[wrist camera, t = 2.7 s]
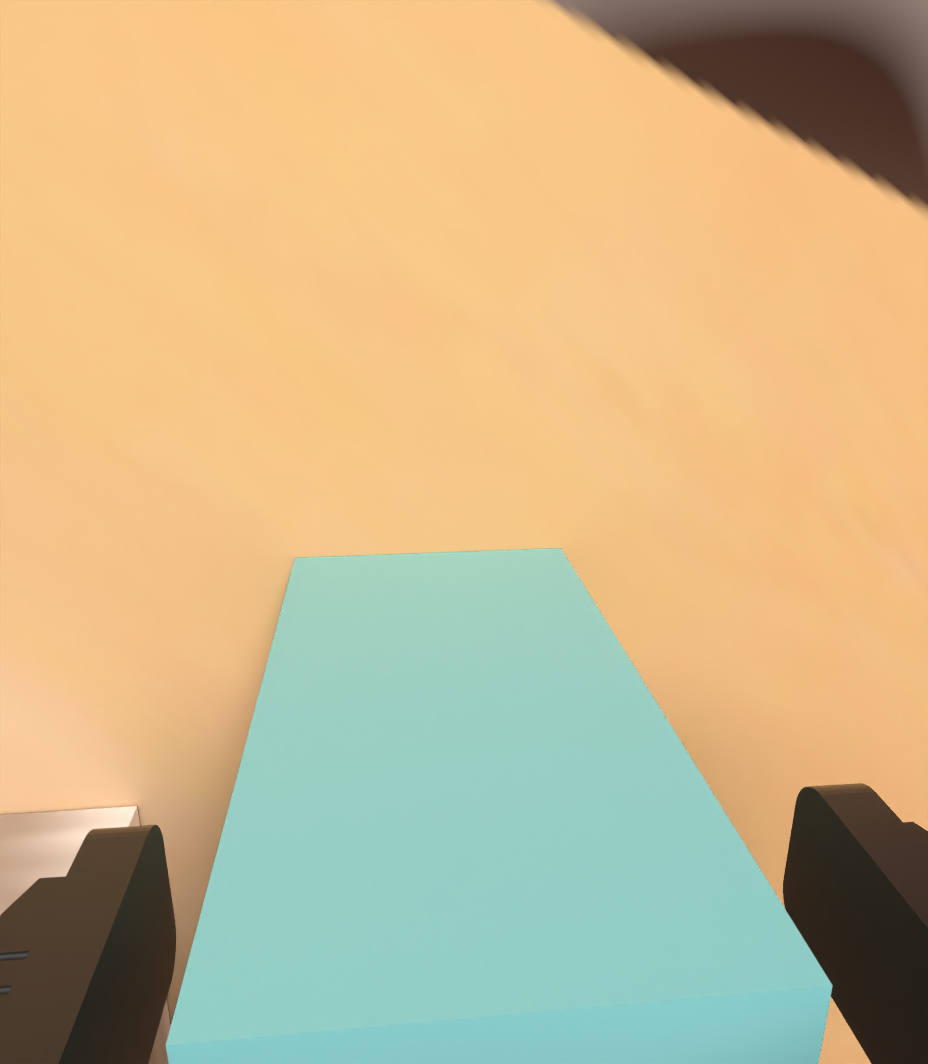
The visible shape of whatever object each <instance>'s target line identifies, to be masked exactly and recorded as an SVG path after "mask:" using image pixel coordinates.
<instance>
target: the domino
mask: <svg viewBox="0 0 928 1064" xmlns="http://www.w3.org/2000/svg"><path fill="white" fill-rule="evenodd" d="M832 986H833V985H832V984H831V982H830V981H829V979H828V977H827V976H826V974H825V972H824V971H823V969H822V968H821V966H820V964H819V963H818V961H817V960H816V958H815V956H814V955H813V953H812V952H811V950H810V948H809V947H808V945H807V944H806V942H805V940H804V939H803V937H802V935H801V934H800V932H799V931H798V929H797V927H796V926H795V924H794V923H793V921H792V919H791V918H790V916H789V915H788V913H787V911H786V910H785V908H784V907H783V905H782V903H781V902H780V900H779V898H778V897H777V895H776V894H775V892H774V890H773V889H772V887H771V886H770V884H769V882H768V881H767V879H766V878H765V876H764V874H763V873H762V871H761V870H760V868H759V866H758V865H757V863H756V861H755V860H754V858H753V857H752V855H751V853H750V852H749V850H748V849H747V847H746V845H745V844H744V842H743V841H742V839H741V837H740V836H739V834H738V833H737V831H736V829H735V828H734V826H733V824H732V823H731V821H730V820H729V818H728V816H727V815H726V813H725V812H724V810H723V808H722V807H721V805H720V804H719V802H718V800H717V799H716V797H715V796H714V794H713V792H712V791H711V789H710V787H709V786H708V784H707V783H706V781H705V779H704V778H703V776H702V775H701V773H700V771H699V770H698V768H697V767H696V765H695V763H694V762H693V760H692V759H691V757H690V755H689V754H688V752H687V750H686V749H685V747H684V746H683V744H682V742H681V741H680V739H679V738H678V736H677V734H676V733H675V731H674V730H673V728H672V726H671V725H670V723H669V722H668V720H667V718H666V717H665V715H664V713H663V712H662V710H661V709H660V707H659V705H658V704H657V702H656V701H655V699H654V697H653V696H652V694H651V693H650V691H649V689H648V688H647V686H646V685H645V683H644V681H643V680H642V678H641V676H640V675H639V673H638V672H637V670H636V668H635V667H634V665H633V664H632V662H631V660H630V659H629V657H628V656H627V654H626V652H625V651H624V649H623V648H622V646H621V644H620V643H619V641H618V639H617V638H616V636H615V635H614V633H613V631H612V630H611V628H610V627H609V625H608V623H607V622H606V620H605V619H604V617H603V615H602V614H601V612H600V611H599V609H598V607H597V606H596V604H595V602H594V601H593V599H592V598H591V596H590V594H589V593H588V591H587V590H586V588H585V586H584V585H583V583H582V582H581V580H580V578H579V577H578V575H577V574H576V572H575V570H574V569H573V567H572V565H571V564H570V562H569V561H568V559H567V557H566V556H565V554H564V553H563V551H562V549H561V548H550V549H522V550H495V551H467V552H440V553H412V554H385V555H357V556H330V557H302V558H295V559H294V563H293V567H292V570H291V574H290V578H289V582H288V586H287V589H286V593H285V597H284V601H283V604H282V608H281V612H280V616H279V620H278V623H277V627H276V631H275V635H274V638H273V642H272V646H271V650H270V654H269V657H268V661H267V665H266V669H265V672H264V676H263V680H262V684H261V687H260V691H259V695H258V699H257V703H256V706H255V710H254V714H253V718H252V721H251V725H250V729H249V733H248V737H247V740H246V744H245V748H244V752H243V755H242V759H241V763H240V767H239V771H238V774H237V778H236V782H235V786H234V789H233V793H232V797H231V801H230V804H229V808H228V812H227V816H226V820H225V823H224V827H223V831H222V835H221V838H220V842H219V846H218V850H217V854H216V857H215V861H214V865H213V869H212V872H211V876H210V880H209V884H208V887H207V891H206V895H205V899H204V903H203V906H202V910H201V914H200V918H199V921H198V925H197V929H196V933H195V937H194V940H193V944H192V948H191V952H190V955H189V959H188V963H187V967H186V971H185V974H184V978H183V982H182V986H181V989H180V993H179V997H178V1001H177V1004H176V1008H175V1012H174V1016H173V1020H172V1023H171V1027H170V1031H169V1035H168V1038H167V1042H166V1050H167V1057H168V1063H169V1064H818V1063H819V1057H820V1052H821V1046H822V1041H823V1035H824V1030H825V1025H826V1019H827V1014H828V1008H829V1003H830V997H831V992H832Z"/></svg>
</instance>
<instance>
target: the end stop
mask: <svg viewBox="0 0 928 1064" xmlns="http://www.w3.org/2000/svg"><path fill="white" fill-rule="evenodd" d="M132 826H140V821H139V815H138V808H137V806H131V807H115V808H99V809H83V810H67V811H51V812H36V813H20V814H4V815H0V915H1V914H2V913H3V912H4V911H5V910H6V909H7V908H8V907H9V906H10V905H11V904H12V903H13V902H15V901H16V900H17V899H18V898H19V897H20V896H21V895H22V894H23V893H24V892H25V891H26V890H27V889H28V888H30V887H31V886H32V885H33V884H34V883H35V882H36V881H37V880H38V879H39V878H49V877H64V876H66V875H67V873H68V871H69V869H70V867H71V865H72V863H73V861H74V859H75V857H76V855H77V853H78V851H79V849H80V847H81V845H82V843H83V840H84V839H85V837H86V835H87V834H88V833H89V831H91V830H92V829H100V828H116V827H132ZM170 1027H171V1024H170V1018H169V1011H168V1004H167V999H166V1002H165V1006H164V1009H163V1013H162V1017H161V1020H160V1024H159V1027H158V1031H157V1034H156V1038H155V1042H154V1045H153V1049H152V1052H151V1056H150V1060H149V1063H148V1064H169V1063H168V1057H167V1050H166V1042H167V1038H168V1035H169V1031H170Z"/></svg>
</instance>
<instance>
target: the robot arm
mask: <svg viewBox="0 0 928 1064" xmlns="http://www.w3.org/2000/svg"><path fill="white" fill-rule="evenodd" d="M783 897H784V904H785V909H786V911H787V913H788V915H789V916H790V918H791V919H792V921H793V923H794V924H795V926H796V927H797V929H798V931H799V932H800V934H801V935H802V937H803V939H804V940H805V942H806V944H807V945H808V947H809V948H810V950H811V952H812V953H813V955H814V956H815V958H816V960H817V961H818V963H819V964H820V966H821V968H822V969H823V971H824V972H825V974H826V976H827V977H828V979H829V981H830V982H831V984H832V985H833V986H832V992H831V997H832V998H833V1000H834V1002H835V1003H836V1005H837V1007H838V1008H839V1010H840V1012H841V1013H842V1015H843V1017H844V1018H845V1020H846V1022H847V1023H848V1025H849V1027H850V1028H851V1030H852V1032H853V1033H854V1035H855V1037H856V1038H857V1040H858V1042H859V1043H860V1045H861V1047H862V1048H863V1050H864V1052H865V1053H866V1055H867V1057H868V1058H869V1060H870V1062H871V1063H872V1064H928V831H926V830H925V829H923V828H922V827H920V826H919V825H917V824H915V823H914V822H906V823H903V822H902V821H901V820H900V819H899V818H898V817H897V816H896V814H895V813H894V812H893V811H892V810H891V809H890V808H889V807H888V806H887V804H886V803H885V802H884V801H883V800H882V799H881V798H880V797H879V796H878V795H877V793H876V792H875V791H874V790H873V789H872V788H870V787H869V786H867V785H865V784H844V785H827V786H811V787H805V788H803V789H802V790H801V791H800V792H799V794H798V797H797V800H796V805H795V811H794V818H793V824H792V830H791V837H790V843H789V849H788V855H787V862H786V868H785V874H784V881H783ZM175 951H176V927H175V919H174V912H173V905H172V898H171V891H170V884H169V877H168V870H167V863H166V856H165V849H164V842H163V836H162V833H161V830H160V828H159V827H158V826H157V825H148V826H132V827H116V828H100V829H92V830H91V831H89V833H88V834H87V835H86V837H85V839H84V840H83V843H82V845H81V847H80V849H79V851H78V853H77V855H76V857H75V859H74V861H73V863H72V865H71V867H70V869H69V871H68V873H67V875H66V876H64V877H49V878H39V879H38V880H37V881H36V882H35V883H34V884H33V885H32V886H31V887H30V888H28V889H27V890H26V891H25V892H24V893H23V894H22V895H21V896H20V897H19V898H18V899H17V900H16V901H15V902H13V903H12V904H11V905H10V906H9V907H8V908H7V909H6V910H5V911H4V912H3V913H2V914H1V915H0V1064H148V1063H149V1060H150V1056H151V1052H152V1049H153V1045H154V1042H155V1038H156V1034H157V1031H158V1027H159V1024H160V1020H161V1017H162V1013H163V1009H164V1006H165V1002H166V999H167V995H168V991H169V988H170V984H171V980H172V975H173V969H174V962H175Z"/></svg>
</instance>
